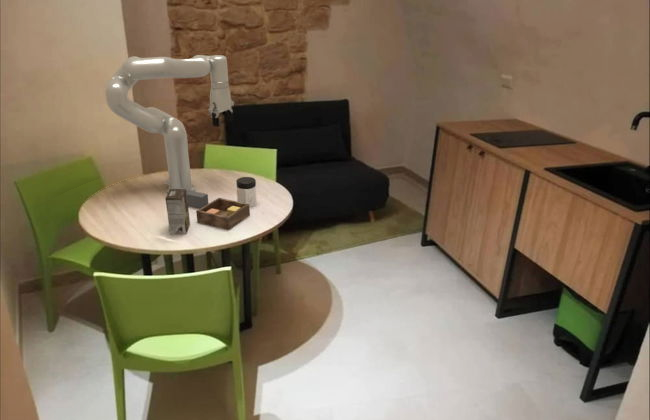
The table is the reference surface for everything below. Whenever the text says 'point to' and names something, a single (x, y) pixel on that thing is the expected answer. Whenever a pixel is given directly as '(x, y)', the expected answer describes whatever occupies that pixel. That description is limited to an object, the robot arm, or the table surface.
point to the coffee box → (177, 211)
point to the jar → (246, 190)
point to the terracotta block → (214, 211)
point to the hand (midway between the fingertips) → (222, 123)
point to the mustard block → (232, 210)
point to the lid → (196, 199)
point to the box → (223, 213)
